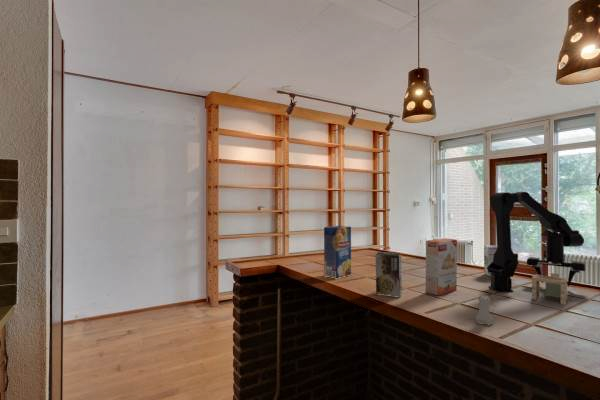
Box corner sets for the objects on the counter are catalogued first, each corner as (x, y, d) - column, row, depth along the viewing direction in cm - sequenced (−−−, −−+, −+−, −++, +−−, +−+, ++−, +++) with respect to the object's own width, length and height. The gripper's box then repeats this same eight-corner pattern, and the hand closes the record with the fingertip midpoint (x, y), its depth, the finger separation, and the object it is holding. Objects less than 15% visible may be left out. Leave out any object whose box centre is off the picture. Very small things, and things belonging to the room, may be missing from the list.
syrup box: (501, 277, 152) (501, 246, 152) (488, 276, 153) (487, 246, 153) (496, 274, 157) (496, 245, 158) (483, 274, 159) (483, 244, 159)
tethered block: (562, 298, 119) (562, 281, 119) (545, 295, 123) (545, 279, 123) (562, 288, 132) (562, 274, 132) (547, 286, 135) (547, 272, 135)
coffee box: (402, 293, 126) (401, 252, 126) (399, 298, 120) (399, 255, 120) (378, 291, 129) (378, 251, 130) (375, 295, 124) (375, 253, 124)
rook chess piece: (472, 320, 97) (472, 294, 97) (486, 319, 98) (486, 293, 98) (482, 326, 93) (481, 298, 93) (496, 325, 93) (496, 298, 93)
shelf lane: (565, 304, 112) (564, 281, 112) (532, 299, 118) (532, 277, 118) (567, 298, 118) (566, 277, 118) (535, 293, 125) (535, 273, 125)
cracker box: (439, 296, 122) (438, 241, 122) (424, 293, 127) (424, 240, 127) (458, 290, 130) (457, 239, 130) (443, 287, 135) (443, 237, 135)
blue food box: (336, 279, 149) (336, 228, 149) (324, 277, 154) (323, 227, 154) (351, 275, 157) (351, 226, 158) (338, 273, 163) (338, 225, 163)
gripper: (585, 246, 132) (586, 284, 132) (530, 243, 145) (530, 277, 145) (584, 250, 124) (585, 290, 124) (526, 245, 137) (526, 282, 137)
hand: (555, 284), depth 133 cm, fingers open, 8 cm apart
